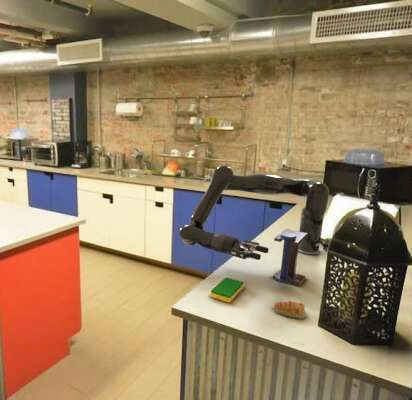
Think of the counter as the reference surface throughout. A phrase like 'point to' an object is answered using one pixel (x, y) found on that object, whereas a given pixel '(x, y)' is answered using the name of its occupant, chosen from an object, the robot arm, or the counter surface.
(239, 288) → the dish sponge
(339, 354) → the counter surface
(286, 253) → the peg
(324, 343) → the counter surface
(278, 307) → the pastry
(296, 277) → the stand
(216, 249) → the robot arm
